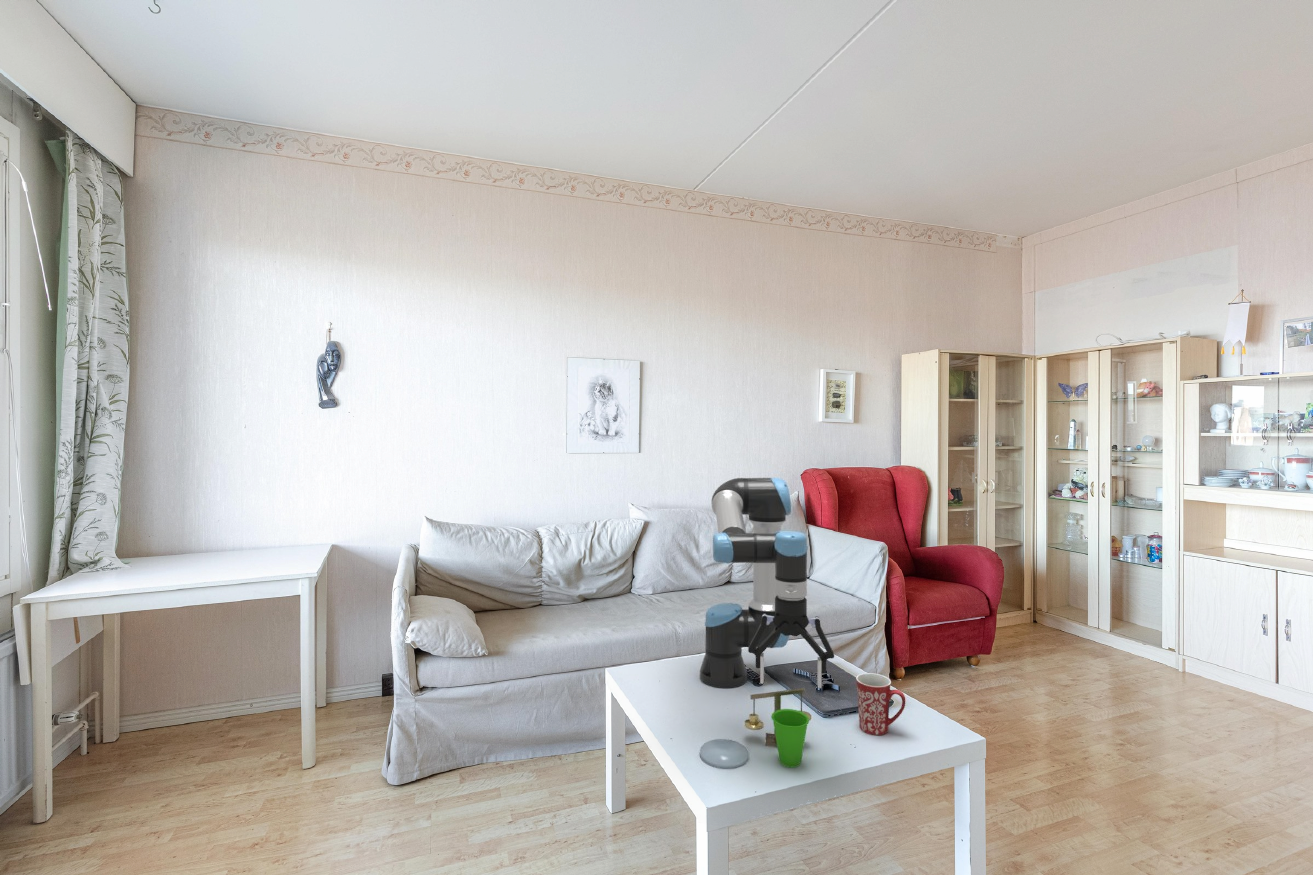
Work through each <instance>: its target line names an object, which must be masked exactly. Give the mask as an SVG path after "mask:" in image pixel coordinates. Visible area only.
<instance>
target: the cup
mask: <svg viewBox="0 0 1313 875" xmlns="http://www.w3.org/2000/svg"><path fill="white" fill-rule="evenodd" d="M800 711H801V710H797V709H792V708H783V709H782V708H781V710H777V711H775V712H774V711H773V712H772V713H771V716H770V717H771V720H772V722H773V727H774V729H775V736H776V742H777V747H776V748H777V754H778V760H779V762H780V764H781V765H782V766H783V767H787V768H798V767H799V766H800V765H801V763H802V757H803V752H804V747H805V740H806V736H807V735H806V734H807V729H808V724H809V723H810V721H809V718H808V716H807V715H806V714H804V713H803V712H800ZM774 729H773V730H774Z"/></svg>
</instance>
